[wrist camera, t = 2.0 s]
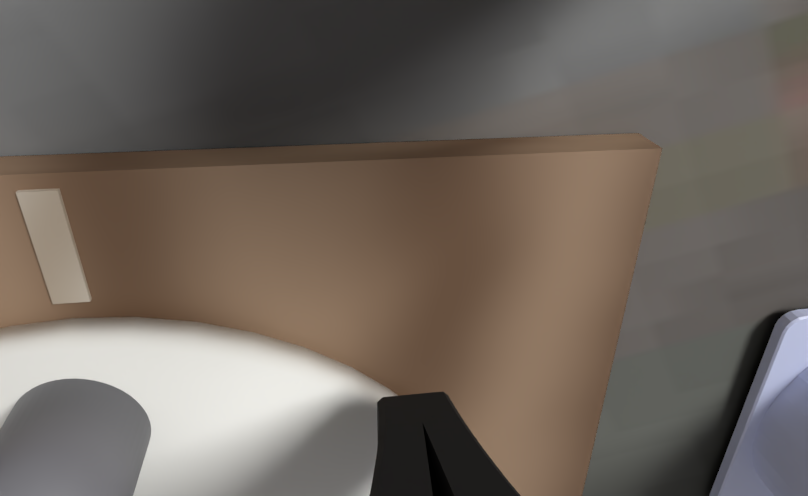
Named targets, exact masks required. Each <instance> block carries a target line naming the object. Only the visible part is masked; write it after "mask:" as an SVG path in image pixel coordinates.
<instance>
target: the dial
mask: <svg viewBox="0 0 808 496" xmlns="http://www.w3.org/2000/svg"><path fill="white" fill-rule="evenodd" d="M390 396H398V395H397V394H395V393H394V392H393V391H391V390H390V389H388V388H387V387H385V386H383V385H381V384H380V383H378V382H376V381H375V380H373V379H371V378H369V377H368V376H366V375H364V374H362V373H361V372H359V371H357V370H356V369H354V368H352V367H350V366H348V365H345V364H343V363H341V362H338V361H336V360H334V359H331V358H329V357H326V356H324V355H322V354H319V353H317V352H315V351H312V350H310V349H308V348H305V347H302V346H298V345H295V344H291V343H288V342H285V341H281V340H278V339H275V338H271V337H268V336H264V335H261V334H258V333H254V332H249V331H244V330H238V329H233V328H227V327H222V326H217V325H211V324H206V323H200V322H192V321H180V320H167V319H155V318H142V317H112V318H72V319H64V320H56V321H48V322H39V323H31V324H23V325H15V326H9V327H5V328H1V329H0V496H369V495H370V491H371V486H372V480H373V474H374V468H375V462H376V455H377V446H378V433H377V402H378V401H379V400H380V399H381V398H382V397H390Z"/></svg>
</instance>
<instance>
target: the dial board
mask: <svg viewBox="0 0 808 496" xmlns="http://www.w3.org/2000/svg"><path fill="white" fill-rule="evenodd" d="M661 152H662V148H661V147H659V146H658V145H656V144H655V143H653V142H651V141H650V140H648V139H647V138H645V137H644V136H642V135H640V134H639V133H631V134H603V135H576V136H549V137H522V138H494V139H467V140H440V141H413V142H385V143H358V144H331V145H303V146H276V147H249V148H222V149H194V150H167V151H140V152H113V153H85V154H58V155H31V156H3V157H0V329H1V328H5V327H9V326H15V325H23V324H31V323H39V322H48V321H56V320H64V319H72V318H112V317H142V318H155V319H167V320H180V321H192V322H200V323H206V324H211V325H217V326H222V327H227V328H233V329H238V330H244V331H249V332H254V333H258V334H261V335H264V336H268V337H271V338H275V339H278V340H281V341H285V342H288V343H291V344H295V345H298V346H302V347H305V348H308V349H310V350H312V351H315V352H317V353H319V354H322V355H324V356H326V357H329V358H331V359H334V360H336V361H338V362H341V363H343V364H345V365H348V366H350V367H352V368H354V369H356V370H357V371H359V372H361V373H362V374H364V375H366V376H368V377H369V378H371V379H373V380H375V381H376V382H378V383H380V384H381V385H383V386H385V387H387V388H388V389H390V390H391V391H393V392H394V393H395V394H397V395H398V396H400V395H411V394H421V393H432V392H442V391H443V392H445V393H446V394H447V395H448V396H449V398H450V399H451V401H452V403H453V404H454V406H455V408H456V409H457V411H458V412H459V414H460V416H461V417H462V419H463V420H464V422H465V423H466V425H467V426H468V428H469V429H470V431H471V432H472V433H473V435H474V436H475V438H476V439H477V440H478V442H479V443H480V445H481V446H482V447H483V449H484V450H485V451H486V453H487V454H488V455H489V457H490V458H491V459H492V461H493V462H494V463H495V464H496V466H497V467H498V468H499V470H500V471H501V472H502V473H503V475H504V476H505V477H506V479H507V480H508V481H509V482H510V483H511V485H512V486H513V487H514V488H515V489H516V491H517V492H518V493H519V494H520V495H521V496H582V493H583V489H584V484H585V480H586V476H587V471H588V467H589V463H590V459H591V454H592V450H593V446H594V441H595V437H596V433H597V428H598V424H599V420H600V415H601V411H602V407H603V402H604V398H605V394H606V389H607V385H608V381H609V376H610V372H611V368H612V363H613V359H614V355H615V350H616V346H617V342H618V337H619V333H620V329H621V325H622V320H623V316H624V312H625V307H626V303H627V299H628V294H629V290H630V286H631V281H632V277H633V273H634V268H635V264H636V260H637V255H638V251H639V247H640V242H641V238H642V234H643V229H644V225H645V221H646V216H647V212H648V208H649V203H650V199H651V195H652V190H653V186H654V182H655V178H656V173H657V169H658V165H659V160H660V156H661Z"/></svg>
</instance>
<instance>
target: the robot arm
mask: <svg viewBox="0 0 808 496" xmlns="http://www.w3.org/2000/svg"><path fill="white" fill-rule="evenodd" d="M377 433H378V446H377V455H376V462H375V468H374V474H373V480H372V486H371V491H370V495H369V496H521V495H520V494H519V493H518V492H517V491H516V489H515V488H514V487H513V486H512V485H511V483H510V482H509V481H508V480H507V479H506V477H505V476H504V475H503V473H502V472H501V471H500V470H499V468H498V467H497V466H496V464H495V463H494V462H493V461H492V459H491V458H490V457H489V455H488V454H487V453H486V451H485V450H484V449H483V447H482V446H481V445H480V443H479V442H478V440H477V439H476V438H475V436H474V435H473V433H472V432H471V431H470V429H469V428H468V426H467V425H466V423H465V422H464V420H463V419H462V417H461V416H460V414H459V412H458V411H457V409H456V408H455V406H454V404H453V403H452V401H451V399H450V398H449V396H448V395H447V394H446V393H445V392H443V391H442V392H432V393H421V394H411V395H400V396H390V397H382V398H381V399H380V400H379V401H378V402H377ZM709 496H808V309H798V310H793V311H789V312H787V313H786V314H784V315H782V316H781V317H780V318H779V319H778V321H777V322H776V324H775V326H774V329H773V331H772V334H771V336H770V339H769V342H768V344H767V347H766V349H765V352H764V355H763V357H762V360H761V362H760V365H759V368H758V370H757V373H756V375H755V378H754V381H753V383H752V386H751V388H750V391H749V393H748V396H747V399H746V401H745V404H744V406H743V409H742V412H741V414H740V417H739V419H738V422H737V425H736V427H735V430H734V432H733V435H732V438H731V440H730V443H729V445H728V448H727V451H726V453H725V456H724V458H723V461H722V464H721V466H720V469H719V471H718V474H717V477H716V479H715V482H714V484H713V487H712V489H711V492H710V495H709Z"/></svg>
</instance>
